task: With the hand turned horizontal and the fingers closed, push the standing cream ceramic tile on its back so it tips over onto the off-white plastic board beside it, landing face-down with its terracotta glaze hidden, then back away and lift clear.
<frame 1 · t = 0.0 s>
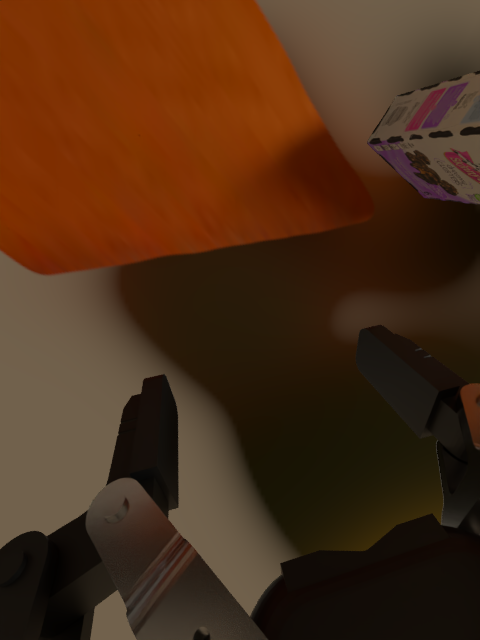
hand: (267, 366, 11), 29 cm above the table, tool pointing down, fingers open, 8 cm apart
candy box: (409, 152, 36), on the table
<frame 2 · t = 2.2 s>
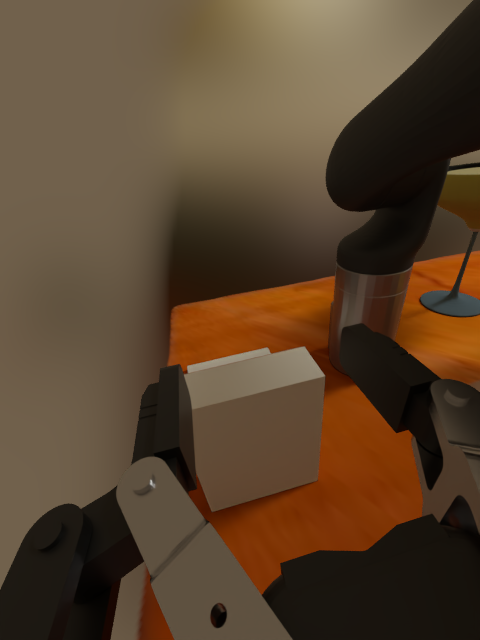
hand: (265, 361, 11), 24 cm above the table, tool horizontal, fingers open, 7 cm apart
cocktail glass: (450, 304, 55), on the table
cutting board: (238, 396, 41), on the table
tile: (260, 477, 30), on the table
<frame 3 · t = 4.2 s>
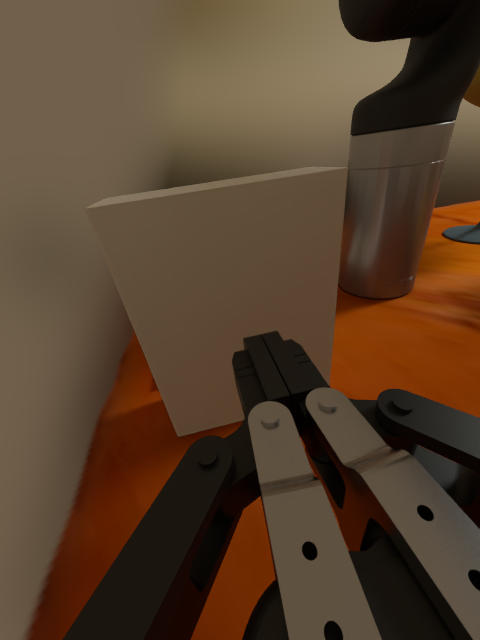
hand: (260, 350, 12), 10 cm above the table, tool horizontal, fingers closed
tile: (249, 397, 22), on the table
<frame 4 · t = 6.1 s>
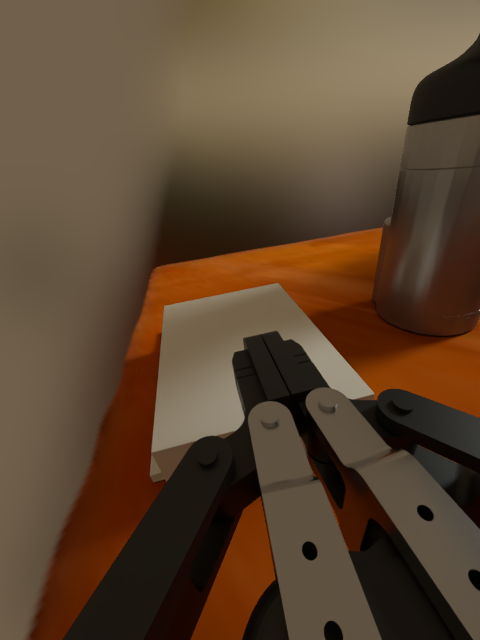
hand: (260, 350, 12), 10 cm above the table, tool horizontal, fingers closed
tile: (270, 444, 15), point 3 cm above the table, tilted 90°, touching cutting board
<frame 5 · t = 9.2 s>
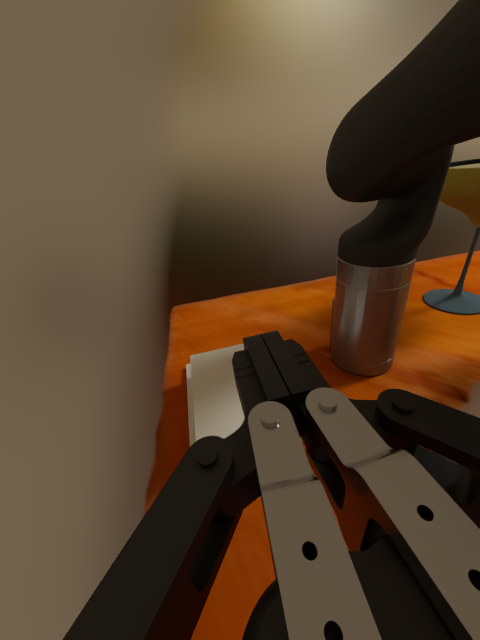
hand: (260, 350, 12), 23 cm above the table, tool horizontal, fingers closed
cocktail glass: (454, 302, 54), on the table
cutting board: (238, 394, 40), on the table
tile: (253, 444, 29), point 3 cm above the table, tilted 90°, touching cutting board
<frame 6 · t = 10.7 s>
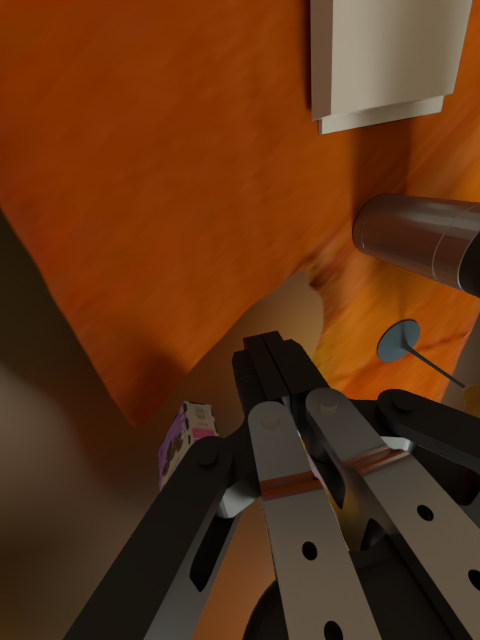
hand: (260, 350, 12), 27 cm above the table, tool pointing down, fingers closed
candy box: (183, 426, 52), on the table
cocktail glass: (397, 341, 58), on the table
cutting board: (387, 44, 31), on the table
tile: (321, 44, 26), point 3 cm above the table, tilted 90°, touching cutting board
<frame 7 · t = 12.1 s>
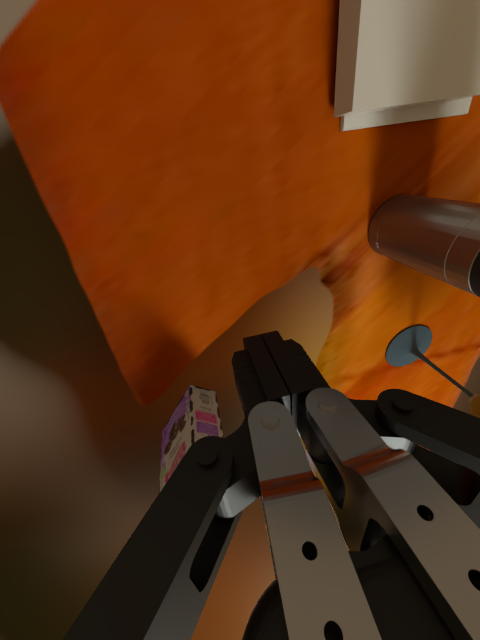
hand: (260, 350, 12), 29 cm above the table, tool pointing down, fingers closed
candy box: (188, 410, 53), on the table
cocktail glass: (407, 345, 57), on the table
cutting board: (416, 43, 31), on the table
tile: (347, 41, 27), point 3 cm above the table, tilted 90°, touching cutting board
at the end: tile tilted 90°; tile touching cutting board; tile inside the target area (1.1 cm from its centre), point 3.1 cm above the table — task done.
